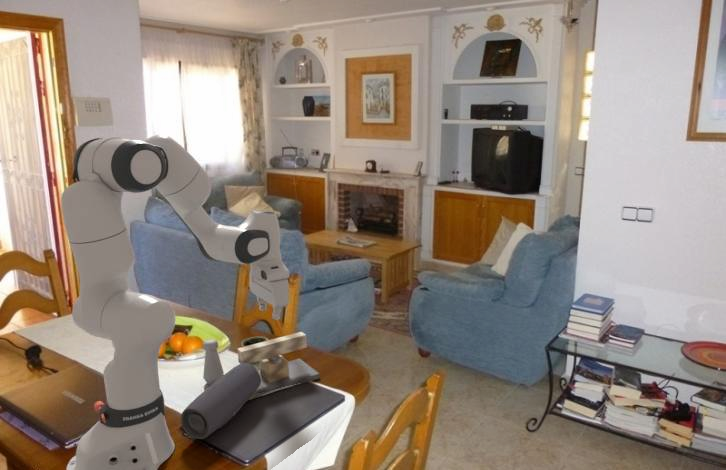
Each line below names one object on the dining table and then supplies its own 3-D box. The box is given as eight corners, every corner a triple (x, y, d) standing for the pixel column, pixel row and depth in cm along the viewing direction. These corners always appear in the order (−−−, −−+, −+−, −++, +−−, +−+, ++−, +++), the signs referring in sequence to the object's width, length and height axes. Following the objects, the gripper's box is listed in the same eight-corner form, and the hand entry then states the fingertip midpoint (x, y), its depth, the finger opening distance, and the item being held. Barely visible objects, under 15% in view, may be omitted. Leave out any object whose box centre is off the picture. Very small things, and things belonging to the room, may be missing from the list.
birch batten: (242, 365, 151) (241, 352, 150) (238, 361, 154) (237, 348, 153) (306, 347, 162) (306, 334, 161) (302, 344, 164) (301, 331, 163)
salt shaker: (218, 387, 156) (214, 345, 153) (200, 386, 157) (195, 344, 154) (227, 378, 161) (223, 337, 159) (210, 377, 162) (205, 336, 160)
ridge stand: (248, 401, 148) (245, 373, 146) (231, 383, 158) (229, 357, 157) (319, 378, 159) (318, 352, 157) (299, 362, 170) (298, 338, 168)
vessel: (256, 350, 180) (255, 333, 179) (279, 354, 177) (277, 336, 175) (233, 365, 170) (231, 346, 169) (256, 370, 166) (255, 351, 165)
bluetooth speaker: (236, 392, 151) (230, 359, 148) (265, 396, 147) (260, 362, 145) (182, 441, 130) (175, 403, 128) (214, 446, 127) (207, 408, 124)
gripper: (242, 262, 159) (245, 307, 162) (270, 277, 142) (273, 327, 145) (262, 258, 162) (265, 303, 165) (292, 272, 145) (295, 322, 148)
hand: (269, 314), depth 155 cm, fingers open, 8 cm apart
